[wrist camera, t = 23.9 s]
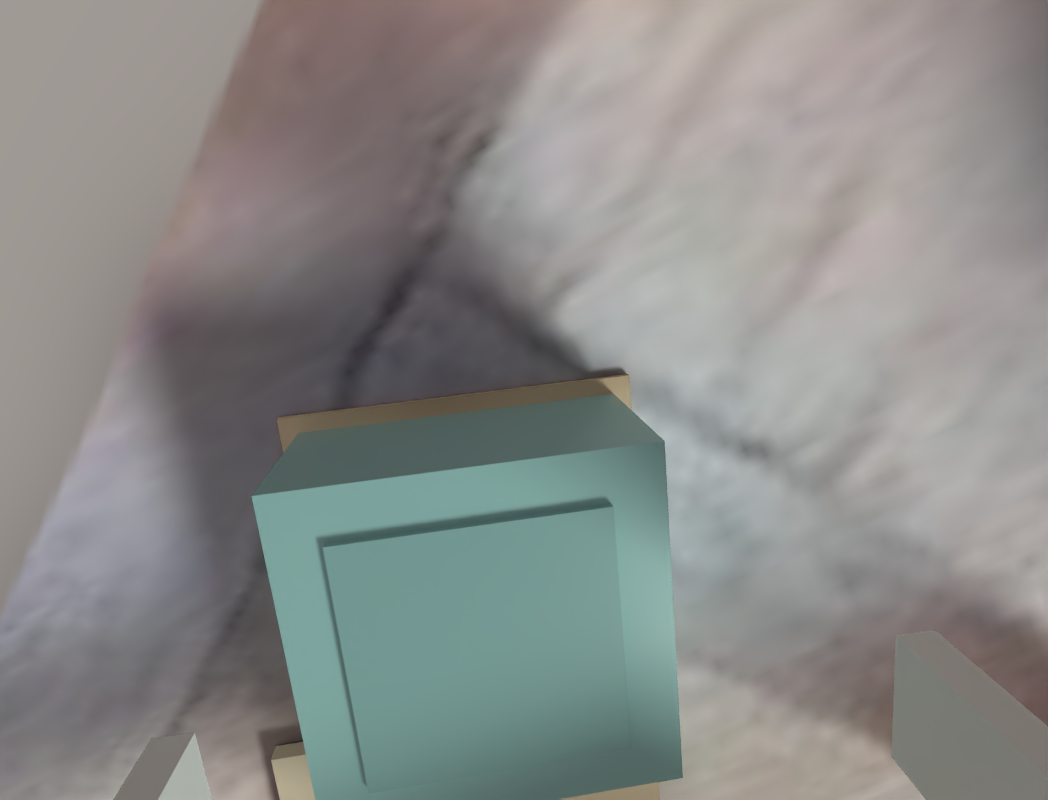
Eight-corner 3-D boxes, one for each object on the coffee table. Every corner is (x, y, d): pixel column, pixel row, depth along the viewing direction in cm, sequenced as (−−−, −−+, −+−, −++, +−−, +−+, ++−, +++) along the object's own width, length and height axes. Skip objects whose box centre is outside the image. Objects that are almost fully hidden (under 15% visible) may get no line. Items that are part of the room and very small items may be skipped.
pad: (277, 417, 19) (276, 419, 19) (627, 373, 20) (628, 375, 20) (337, 722, 22) (336, 726, 22) (647, 672, 23) (649, 676, 22)
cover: (298, 433, 19) (248, 499, 14) (613, 393, 20) (667, 443, 15) (350, 709, 21) (322, 847, 17) (632, 664, 22) (685, 783, 17)
